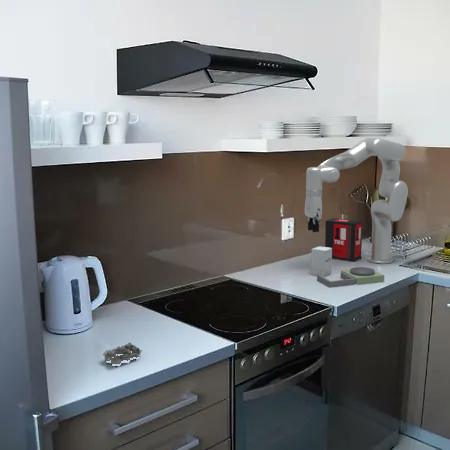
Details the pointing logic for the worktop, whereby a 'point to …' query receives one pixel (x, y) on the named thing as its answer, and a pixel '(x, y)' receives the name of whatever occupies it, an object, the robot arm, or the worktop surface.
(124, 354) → the grey lumpy cluster
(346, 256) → the cleaning product box
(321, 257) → the supplement box
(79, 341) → the worktop surface
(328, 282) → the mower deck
